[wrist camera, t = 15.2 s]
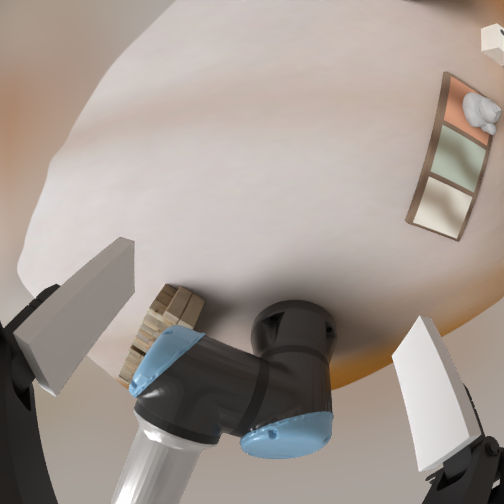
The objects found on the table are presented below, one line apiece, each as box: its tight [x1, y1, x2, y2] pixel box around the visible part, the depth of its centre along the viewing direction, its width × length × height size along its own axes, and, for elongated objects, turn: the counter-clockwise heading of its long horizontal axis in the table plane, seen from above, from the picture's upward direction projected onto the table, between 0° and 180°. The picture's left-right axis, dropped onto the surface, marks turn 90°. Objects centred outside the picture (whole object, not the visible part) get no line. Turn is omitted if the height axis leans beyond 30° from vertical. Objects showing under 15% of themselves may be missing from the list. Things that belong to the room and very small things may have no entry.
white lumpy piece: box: [462, 92, 502, 135], centre depth 22 cm, size 5×7×8 cm
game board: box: [405, 72, 495, 242], centre depth 30 cm, size 24×11×1 cm, turn 169°
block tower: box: [118, 284, 205, 385], centre depth 50 cm, size 8×8×29 cm
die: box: [481, 24, 504, 66], centre depth 17 cm, size 5×5×5 cm
